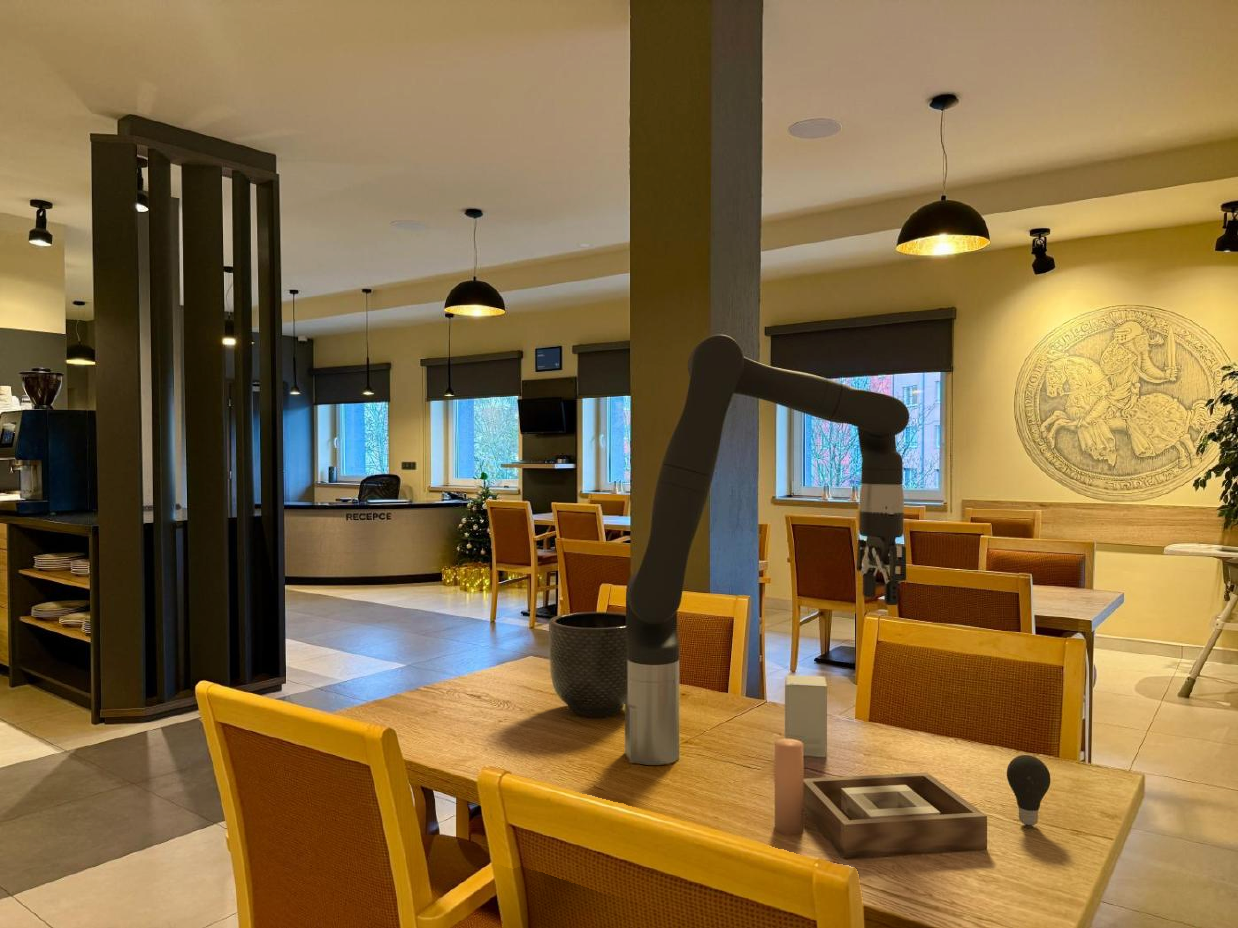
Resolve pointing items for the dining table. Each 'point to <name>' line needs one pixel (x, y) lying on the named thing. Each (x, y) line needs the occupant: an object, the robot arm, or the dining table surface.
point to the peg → (789, 786)
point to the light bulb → (1028, 786)
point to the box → (892, 815)
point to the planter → (589, 662)
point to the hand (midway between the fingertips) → (879, 600)
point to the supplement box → (807, 713)
